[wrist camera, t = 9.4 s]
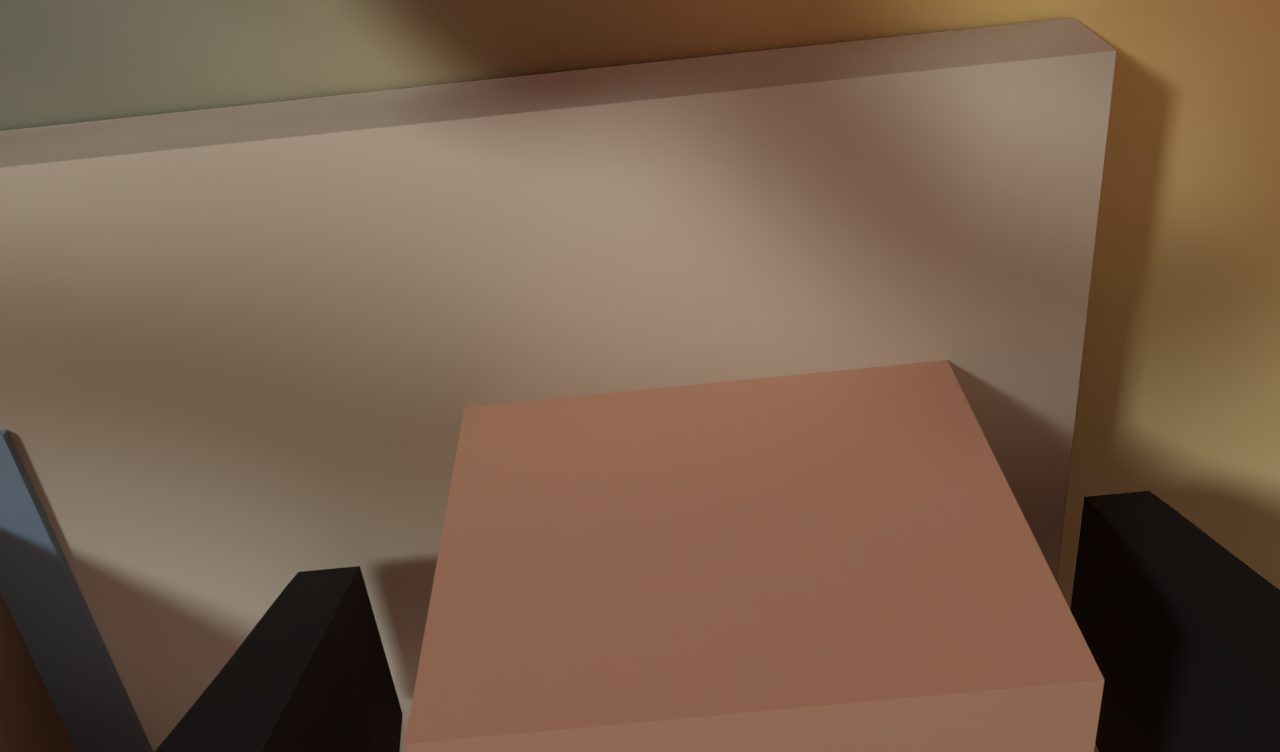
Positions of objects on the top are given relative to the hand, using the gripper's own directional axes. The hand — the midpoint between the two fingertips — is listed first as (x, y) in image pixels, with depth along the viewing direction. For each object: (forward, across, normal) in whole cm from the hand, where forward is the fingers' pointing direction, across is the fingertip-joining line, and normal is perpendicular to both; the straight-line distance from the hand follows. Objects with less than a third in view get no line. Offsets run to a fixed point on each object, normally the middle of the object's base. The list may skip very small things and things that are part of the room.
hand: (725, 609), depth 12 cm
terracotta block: (+1, 0, 0) cm, 1 cm away
